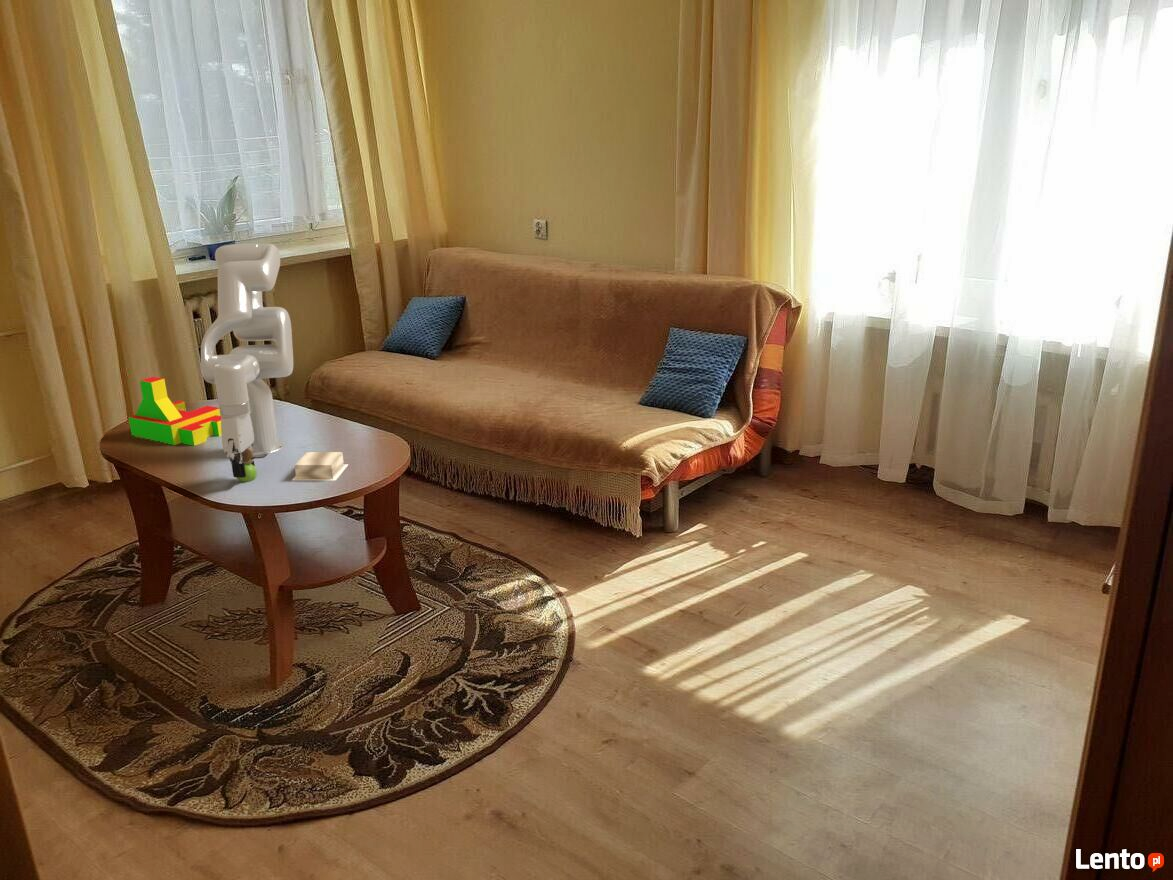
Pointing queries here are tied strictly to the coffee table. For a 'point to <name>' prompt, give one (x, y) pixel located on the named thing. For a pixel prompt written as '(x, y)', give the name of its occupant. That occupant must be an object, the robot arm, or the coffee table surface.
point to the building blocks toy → (172, 417)
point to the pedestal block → (319, 465)
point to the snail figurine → (247, 466)
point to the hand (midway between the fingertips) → (244, 472)
